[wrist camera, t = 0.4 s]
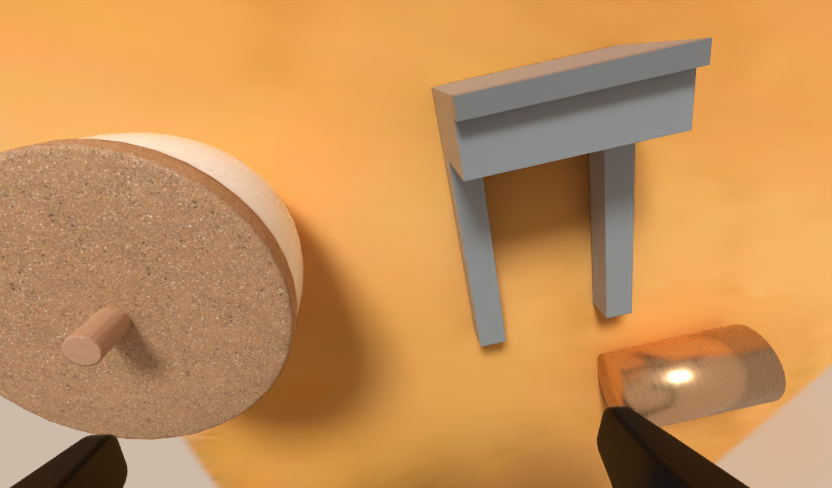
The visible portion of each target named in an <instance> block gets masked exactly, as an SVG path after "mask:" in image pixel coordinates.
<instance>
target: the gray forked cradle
mask: <svg viewBox="0 0 832 488" xmlns="http://www.w3.org/2000/svg"><path fill="white" fill-rule="evenodd" d="M711 43H712V38H702V39H689V40H677V41H665V42H652V43H640V44H628V45H616V46H612V47H608V48H603V49H599V50H594V51H590V52H586V53H581V54H577V55H572V56H568V57H564V58H559V59H555V60H550V61H546V62H541V63H537V64H533V65H528V66H524V67H519V68H515V69H511V70H506V71H502V72H497V73H493V74H489V75H484V76H480V77H475V78H471V79H467V80H462V81H458V82H453V83H449V84H445V85H440V86H436V87H432V92H433V98H434V104H435V109H436V115H437V121H438V126H439V132H440V137H441V143H442V149H443V154H444V160H445V165H446V171H447V177H448V182H449V188H450V194H451V199H452V205H453V210H454V216H455V222H456V227H457V233H458V238H459V244H460V250H461V255H462V261H463V267H464V272H465V278H466V283H467V289H468V295H469V300H470V306H471V312H472V317H473V323H474V328H475V332H476V335H477V338H478V340H479V343H480V346H481V347H482V346H486V345H491V344H495V343H499V342H504V341H506V337H505V330H504V323H503V316H502V309H501V302H500V295H499V288H498V281H497V274H496V266H495V259H494V252H493V245H492V238H491V231H490V224H489V217H488V210H487V203H486V195H485V188H484V181H483V177H486V176H490V175H495V174H499V173H504V172H508V171H512V170H517V169H521V168H526V167H530V166H535V165H539V164H543V163H548V162H552V161H557V160H561V159H566V158H570V157H574V156H579V155H583V154H588V153H589V173H590V208H591V243H592V278H593V304H594V305H595V306H596V307H597V308H598V310H599V311H600V312H601V313H602V314H603V315H604V316H605V317H606V318H611V317H615V316H620V315H624V314H629V313H632V273H633V219H634V165H635V143H636V142H641V141H645V140H650V139H654V138H658V137H663V136H667V135H672V134H676V133H681V132H685V131H689V130H692V117H693V104H694V90H695V77H696V68H697V67H702V66H706V65H710V55H711Z"/></svg>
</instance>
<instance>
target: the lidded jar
mask: <svg viewBox="0 0 832 488" xmlns="http://www.w3.org/2000/svg"><path fill="white" fill-rule="evenodd" d="M303 265H304V264H303V257H302V251H301V244H300V238H299V235H298V232H297V229H296V226H295V223H294V221H293V219H292V217H291V215H290V213H289V211H288V209H287V207H286V205H285V204H284V203H283V201H282V200H281V198H280V197H279V196H278V194H277V193H276V191H275V190H274V189H273V188H272V187H271V186H270V185H269V184H268V183H267V182H266V181H265V180H264V179H263V178H262V177H261V176H260V175H259V174H258V173H257V172H255V171H254V170H253V169H252V168H250V167H249V166H248V165H246V164H245V163H244V162H242V161H241V160H239V159H237V158H235V157H234V156H232V155H230V154H229V153H227V152H225V151H223V150H221V149H218V148H216V147H213V146H211V145H209V144H206V143H204V142H200V141H196V140H192V139H188V138H185V137H180V136H174V135H166V134H157V133H148V132H142V133H113V134H101V135H95V136H90V137H84V138H79V139H66V140H53V141H48V142H43V143H38V144H33V145H28V146H23V147H19V148H14V149H10V150H7V151H4V152H2V153H0V395H1V396H2V397H4V398H6V399H8V400H9V401H11V402H13V403H15V404H17V405H18V406H20V407H22V408H23V409H25V410H27V411H29V412H31V413H34V414H36V415H38V416H40V417H42V418H45V419H47V420H49V421H51V422H54V423H57V424H60V425H63V426H66V427H69V428H73V429H76V430H80V431H84V432H88V433H92V434H96V435H102V434H112V435H114V436H115V437H117V438H126V439H160V438H170V437H171V438H172V437H178V436H184V435H189V434H194V433H198V432H201V431H204V430H207V429H210V428H212V427H215V426H218V425H220V424H222V423H224V422H226V421H228V420H230V419H232V418H234V417H236V416H238V415H240V414H241V413H243V412H244V411H246V410H247V409H248V408H250V407H251V406H253V405H254V404H255V403H257V402H258V401H259V400H260V399H261V398H262V397H263V396H264V395H265V394H266V393H267V392H268V391H269V390H270V388H271V387H272V385H273V384H274V383H275V381H276V380H277V378H278V377H279V375H280V374H281V372H282V370H283V368H284V365H285V363H286V361H287V358H288V356H289V354H290V351H291V347H292V343H293V339H294V334H295V330H296V325H297V314H298V310H299V306H300V301H301V297H302V289H303Z"/></svg>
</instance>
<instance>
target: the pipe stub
mask: <svg viewBox="0 0 832 488" xmlns="http://www.w3.org/2000/svg"><path fill="white" fill-rule="evenodd" d="M598 378H599V383H600V386H601V389H602V392H603V395H604V398H605V400H606V402H607V405H608V407H614V406H627V407H630V408H631V409H633V410H635V411H636V412H638V413H639V414H641V415H642V416H644V417H645V418H647V419H648V420H650V421H651V422H652V423H654V424H655V425H657V426H658V427H661V426H666V425H670V424H675V423H679V422H684V421H688V420H693V419H697V418H702V417H706V416H711V415H715V414H720V413H724V412H729V411H733V410H738V409H742V408H747V407H751V406H755V405H760V404H764V403H769V402H773V401H777V400H778V399H780V398H781V397H782V395H783V394H784V391H785V384H786V381H785V375H784V371H783V368H782V365H781V363H780V360H779V358H778V357H777V355H776V353H775V352H774V350H773V349H772V347H771V346H770V345H769V344H768V342H767V341H766V340H765V339H764V338H763V337H762V336H761V335H759V334H758V333H757V332H755V331H754V330H752V329H750V328H749V327H746V326H744V325H739V324H734V325H729V326H724V327H720V328H715V329H711V330H707V331H702V332H698V333H693V334H689V335H684V336H680V337H675V338H671V339H666V340H662V341H657V342H653V343H648V344H644V345H640V346H635V347H631V348H626V349H622V350H617V351H613V352H608V353H604V354H601V355H599V357H598Z"/></svg>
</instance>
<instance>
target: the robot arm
mask: <svg viewBox="0 0 832 488" xmlns="http://www.w3.org/2000/svg"><path fill="white" fill-rule="evenodd" d="M597 446H598V450H599V453H600V455H601V458H602V461H603V463H604V466H605V468H606V471H607V474H608V476H609V479H610V481H611V484H612V487H613V488H749V487H748V486H747V485H745V484H744V483H742V482H741V481H739V480H738V479H736V478H734V477H733V476H732V475H730V474H729V473H727V472H726V471H724V470H723V469H721V468H720V467H718V466H717V465H715V464H714V463H712V462H711V461H709V460H708V459H706V458H705V457H703V456H702V455H700V454H699V453H697V452H696V451H694V450H693V449H691V448H690V447H688V446H687V445H685V444H684V443H682V442H681V441H679V440H678V439H676V438H675V437H673V436H672V435H670V434H669V433H667V432H666V431H664V430H663V429H661V428H660V427H658V426H657V425H655V424H654V423H652V422H651V421H650V420H648V419H647V418H645V417H644V416H642V415H641V414H639V413H638V412H636V411H635V410H633V409H631V408H630V407H627V406H614V407H607V408H606V409H605V410H604V412H603V416H602V420H601V424H600V428H599V432H598V436H597ZM126 477H127V464H126V461H125V459H124V456H123V453H122V450H121V447H120V445H119V442H118V439H117V437H115V436H114V435H112V434H102V435H90V436H87V437H85V438H83V439H81V440H79V441H78V442H76V443H75V444H73V445H72V446H71V447H69V448H68V449H66V450H65V451H63V452H62V453H60V454H59V455H57V456H56V457H54V458H53V459H52V460H50V461H48V462H47V463H46V464H44V465H43V466H41V467H40V468H38V469H37V470H35V471H34V472H32V473H31V474H29V475H28V476H26V477H25V478H24V479H22V480H21V481H19V482H18V483H16V484H15V485H13V486H12V487H10V488H123V486H124V484H125V481H126Z"/></svg>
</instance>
